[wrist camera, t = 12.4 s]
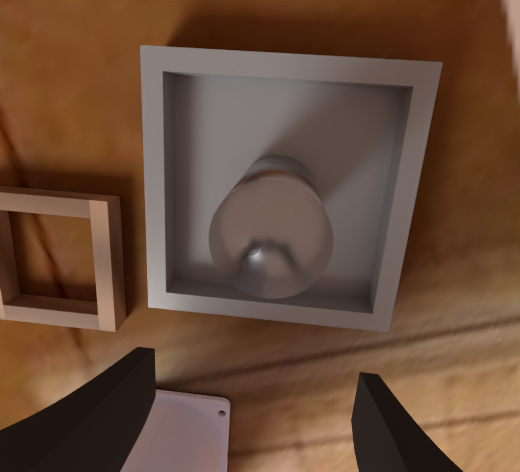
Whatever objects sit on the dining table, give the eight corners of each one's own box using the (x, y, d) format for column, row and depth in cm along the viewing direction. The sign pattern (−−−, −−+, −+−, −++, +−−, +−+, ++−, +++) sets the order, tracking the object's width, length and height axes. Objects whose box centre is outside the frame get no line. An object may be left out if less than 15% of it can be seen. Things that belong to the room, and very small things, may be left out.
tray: (378, 309, 22) (388, 332, 19) (163, 287, 23) (148, 307, 20) (423, 69, 18) (442, 62, 15) (159, 54, 19) (140, 44, 16)
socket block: (126, 318, 24) (115, 331, 22) (8, 305, 24) (-10, 317, 23) (119, 196, 21) (107, 201, 20) (-12, 184, 22) (-34, 189, 20)
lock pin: (312, 232, 20) (326, 303, 12) (238, 227, 20) (208, 294, 13) (319, 157, 19) (340, 184, 11) (241, 152, 19) (209, 176, 11)
